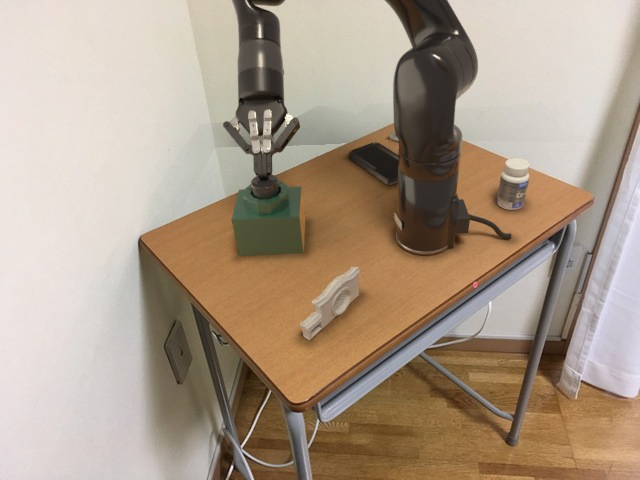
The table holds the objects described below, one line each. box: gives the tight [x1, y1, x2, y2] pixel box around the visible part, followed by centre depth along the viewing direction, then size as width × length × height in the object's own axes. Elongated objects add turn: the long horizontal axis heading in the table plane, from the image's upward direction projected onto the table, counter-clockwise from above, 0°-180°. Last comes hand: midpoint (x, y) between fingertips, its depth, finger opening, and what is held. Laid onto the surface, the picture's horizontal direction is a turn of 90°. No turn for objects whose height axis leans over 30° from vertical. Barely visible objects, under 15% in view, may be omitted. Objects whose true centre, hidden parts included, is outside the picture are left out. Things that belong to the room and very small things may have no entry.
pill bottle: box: [496, 157, 531, 211], centre depth 92 cm, size 5×5×8 cm
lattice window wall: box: [299, 266, 361, 342], centre depth 74 cm, size 12×2×6 cm, turn 139°
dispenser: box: [231, 179, 306, 257], centre depth 88 cm, size 11×9×10 cm
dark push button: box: [250, 174, 280, 200], centre depth 85 cm, size 4×4×3 cm
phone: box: [348, 142, 399, 186], centre depth 108 cm, size 8×1×15 cm
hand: (263, 177), depth 84 cm, fingers closed
